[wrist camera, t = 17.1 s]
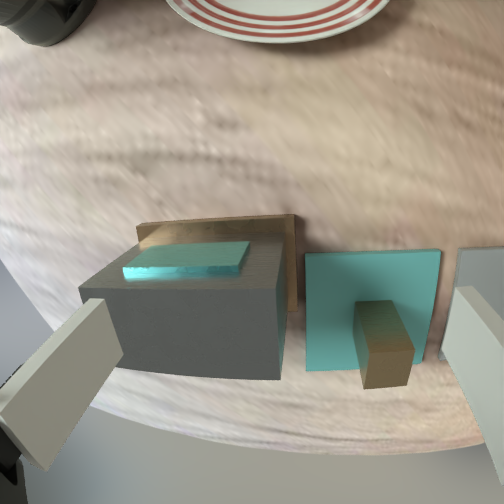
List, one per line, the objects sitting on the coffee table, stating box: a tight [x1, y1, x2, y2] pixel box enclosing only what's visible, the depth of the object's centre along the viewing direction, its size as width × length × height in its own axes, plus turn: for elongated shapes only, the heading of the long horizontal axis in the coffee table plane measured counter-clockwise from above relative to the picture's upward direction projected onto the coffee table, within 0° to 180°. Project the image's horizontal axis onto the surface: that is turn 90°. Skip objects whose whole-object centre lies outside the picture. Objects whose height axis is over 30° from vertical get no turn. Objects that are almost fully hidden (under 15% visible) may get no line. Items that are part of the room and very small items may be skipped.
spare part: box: [352, 300, 415, 389], centre depth 31 cm, size 4×4×10 cm
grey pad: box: [438, 246, 504, 361], centre depth 33 cm, size 16×16×1 cm
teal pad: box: [305, 249, 441, 371], centre depth 36 cm, size 16×16×1 cm
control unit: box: [78, 214, 298, 380], centre depth 31 cm, size 18×11×15 cm, turn 95°
